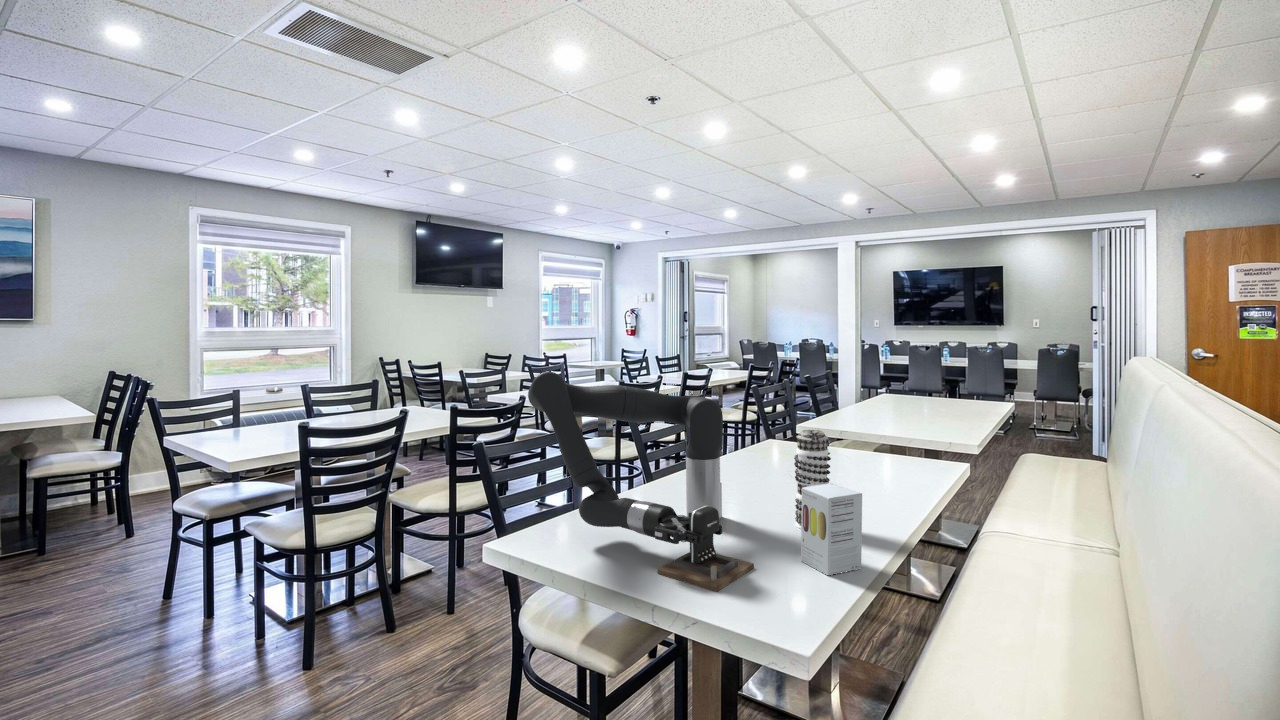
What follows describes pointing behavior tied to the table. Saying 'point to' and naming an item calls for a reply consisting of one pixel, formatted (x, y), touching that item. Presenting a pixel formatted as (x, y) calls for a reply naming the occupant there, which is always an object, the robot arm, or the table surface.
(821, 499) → the supplement box
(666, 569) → the locating plate
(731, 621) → the table surface
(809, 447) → the decorative candle
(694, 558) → the battery charger
